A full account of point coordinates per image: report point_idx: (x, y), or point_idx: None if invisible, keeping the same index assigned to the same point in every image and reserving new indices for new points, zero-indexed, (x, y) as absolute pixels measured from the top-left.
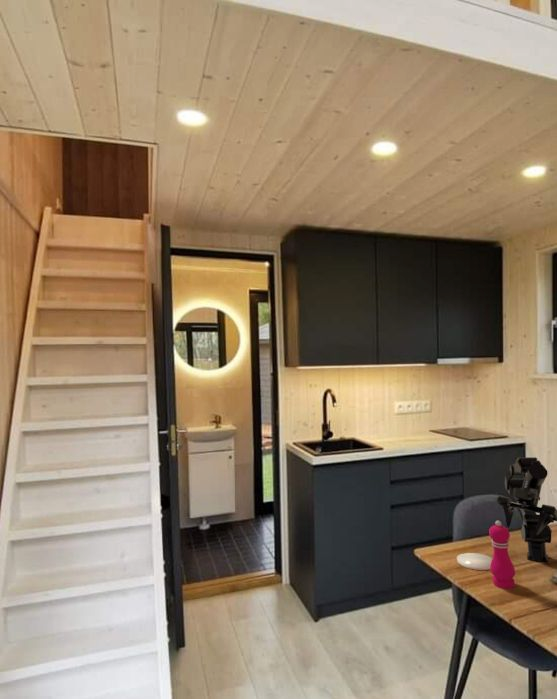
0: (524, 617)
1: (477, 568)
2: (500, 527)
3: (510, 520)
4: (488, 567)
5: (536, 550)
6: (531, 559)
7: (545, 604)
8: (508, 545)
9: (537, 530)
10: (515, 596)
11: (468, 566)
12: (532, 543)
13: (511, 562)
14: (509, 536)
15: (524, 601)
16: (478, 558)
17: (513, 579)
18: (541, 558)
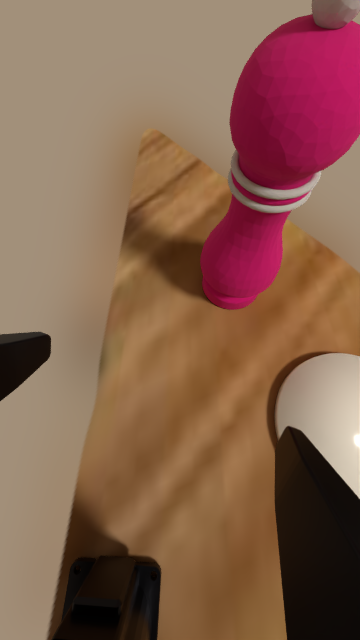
0: (179, 168)
1: (324, 354)
2: (304, 16)
3: (293, 578)
4: (293, 371)
5: (101, 589)
6: (142, 563)
7: (136, 223)
8: (230, 175)
9: (14, 334)
10: (198, 234)
11: (357, 356)
12: (106, 638)
13: (212, 238)
14: (230, 114)
15: (179, 220)
16: (354, 452)
17: (205, 279)
18: (95, 562)
